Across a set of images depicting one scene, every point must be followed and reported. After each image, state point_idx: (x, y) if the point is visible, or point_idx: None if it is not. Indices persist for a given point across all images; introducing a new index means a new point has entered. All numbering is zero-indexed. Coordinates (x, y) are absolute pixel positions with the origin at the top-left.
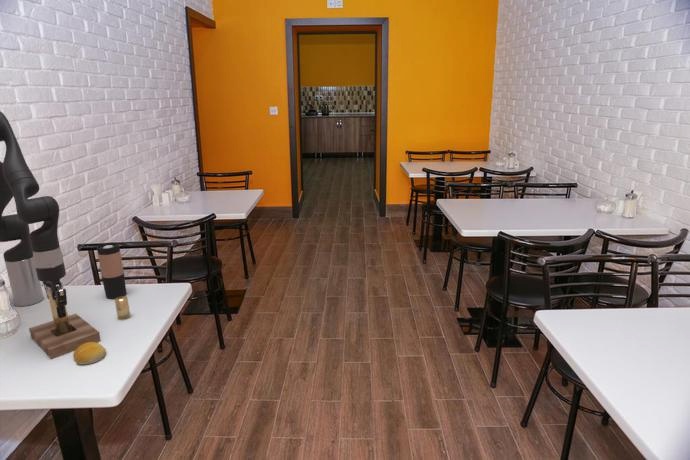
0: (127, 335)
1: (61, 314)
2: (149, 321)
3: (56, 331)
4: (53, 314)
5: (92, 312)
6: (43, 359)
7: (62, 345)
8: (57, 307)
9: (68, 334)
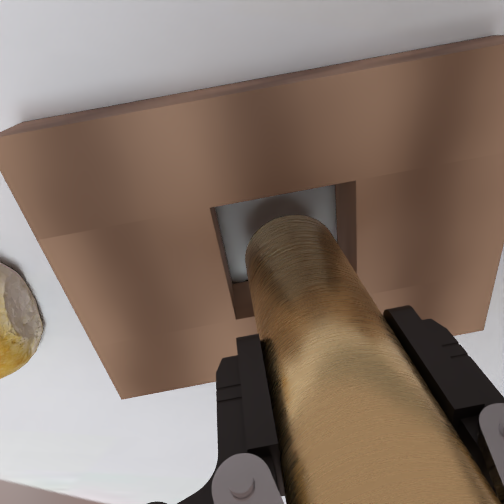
0: (124, 434)
1: (219, 386)
2: None
3: (279, 222)
4: (305, 322)
5: (489, 355)
6: (41, 72)
7: (33, 227)
8: (246, 453)
9: (198, 274)
